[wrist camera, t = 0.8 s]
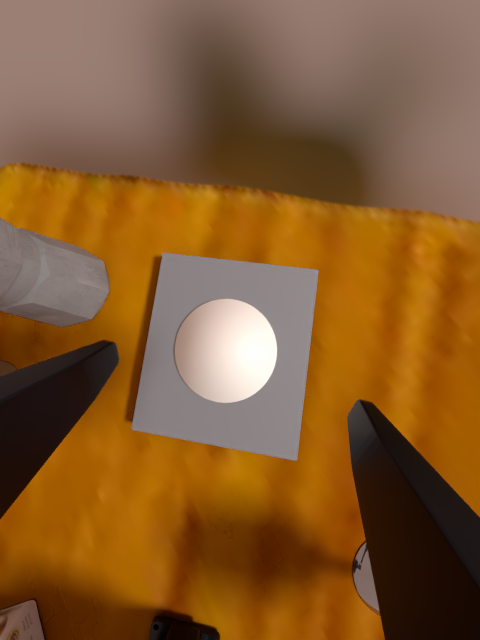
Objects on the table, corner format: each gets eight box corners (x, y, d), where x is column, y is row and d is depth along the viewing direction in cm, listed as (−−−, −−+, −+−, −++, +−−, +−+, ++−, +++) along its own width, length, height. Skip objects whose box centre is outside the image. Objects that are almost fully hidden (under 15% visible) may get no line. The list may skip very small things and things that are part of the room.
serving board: (294, 452, 21) (297, 462, 19) (139, 423, 23) (130, 430, 21) (314, 274, 23) (319, 269, 21) (168, 258, 24) (162, 251, 22)
